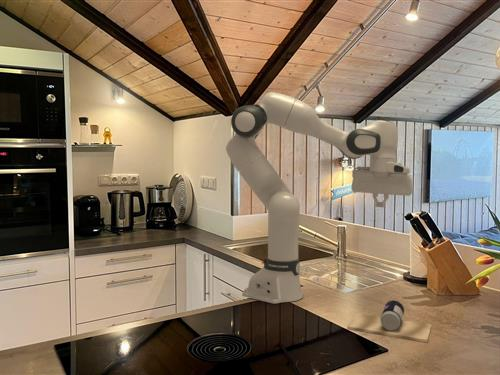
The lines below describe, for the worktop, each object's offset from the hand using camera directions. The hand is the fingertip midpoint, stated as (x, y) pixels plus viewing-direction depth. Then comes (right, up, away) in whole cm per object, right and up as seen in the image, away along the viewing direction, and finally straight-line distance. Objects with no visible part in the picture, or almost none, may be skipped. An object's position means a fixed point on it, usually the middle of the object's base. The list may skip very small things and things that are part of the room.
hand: (379, 207), depth 150 cm
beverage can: (0, -31, -16) cm, 35 cm away
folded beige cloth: (-4, -35, -22) cm, 42 cm away
